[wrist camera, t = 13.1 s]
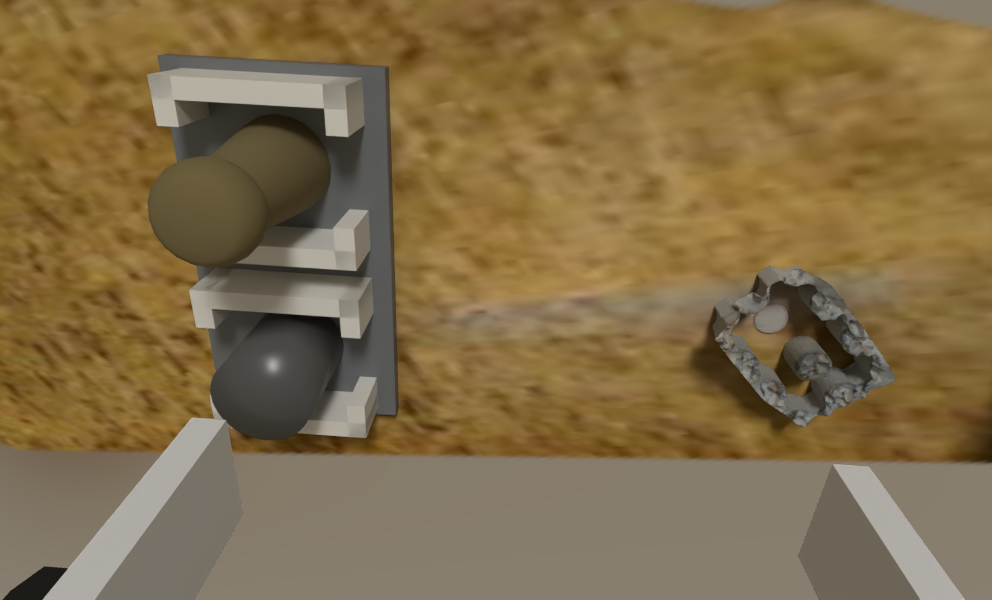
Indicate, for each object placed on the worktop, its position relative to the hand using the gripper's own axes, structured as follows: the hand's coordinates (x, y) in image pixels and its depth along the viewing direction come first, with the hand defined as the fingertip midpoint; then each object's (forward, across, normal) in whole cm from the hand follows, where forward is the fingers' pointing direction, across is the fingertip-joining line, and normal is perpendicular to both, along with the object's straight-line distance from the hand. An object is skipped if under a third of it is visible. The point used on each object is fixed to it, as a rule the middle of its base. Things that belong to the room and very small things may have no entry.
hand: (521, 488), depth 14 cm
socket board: (+27, +15, +6) cm, 31 cm away
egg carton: (+27, -18, +10) cm, 34 cm away
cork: (+26, +15, 0) cm, 30 cm away
